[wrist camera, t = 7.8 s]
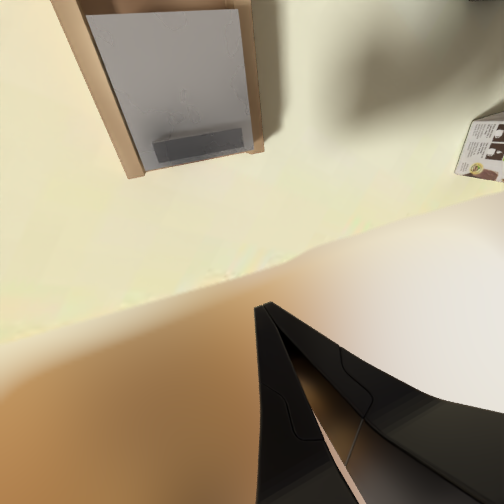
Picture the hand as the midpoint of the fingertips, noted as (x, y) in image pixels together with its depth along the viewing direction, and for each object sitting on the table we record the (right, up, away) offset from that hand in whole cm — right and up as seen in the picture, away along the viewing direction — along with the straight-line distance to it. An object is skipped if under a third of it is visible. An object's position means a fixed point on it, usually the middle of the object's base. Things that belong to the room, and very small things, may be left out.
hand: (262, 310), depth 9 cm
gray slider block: (-5, +12, +4) cm, 14 cm away
